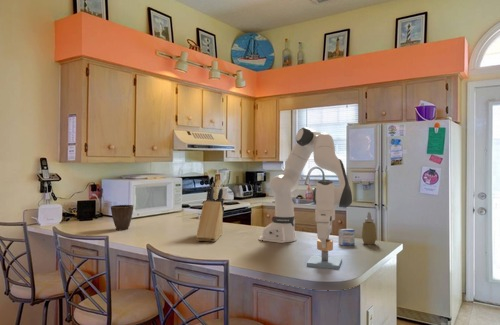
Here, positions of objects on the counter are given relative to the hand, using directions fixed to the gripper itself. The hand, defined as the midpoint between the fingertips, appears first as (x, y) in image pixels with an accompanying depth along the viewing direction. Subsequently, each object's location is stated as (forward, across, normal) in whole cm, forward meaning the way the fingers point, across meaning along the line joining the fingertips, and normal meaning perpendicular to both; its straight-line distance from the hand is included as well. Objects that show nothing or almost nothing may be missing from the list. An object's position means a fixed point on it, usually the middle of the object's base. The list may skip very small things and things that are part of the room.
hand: (325, 245), depth 171 cm
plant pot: (+8, -39, -143) cm, 148 cm away
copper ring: (+2, 0, 0) cm, 2 cm away
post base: (+8, 0, 0) cm, 8 cm away
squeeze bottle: (+8, -50, +18) cm, 54 cm away
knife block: (+8, -37, -75) cm, 84 cm away
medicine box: (+8, -44, +6) cm, 45 cm away
